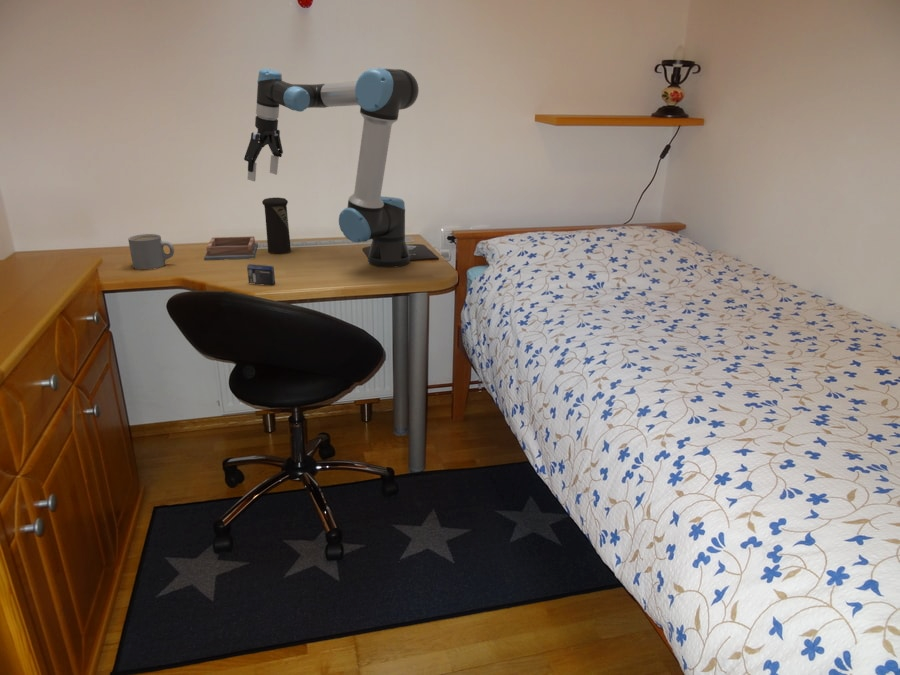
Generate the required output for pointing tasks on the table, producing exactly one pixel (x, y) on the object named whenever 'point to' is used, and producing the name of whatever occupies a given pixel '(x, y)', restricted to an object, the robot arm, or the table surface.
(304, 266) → the table surface
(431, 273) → the table surface
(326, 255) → the table surface
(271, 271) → the mini dv tape
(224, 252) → the collar plate
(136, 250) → the coffee mug
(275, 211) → the container
